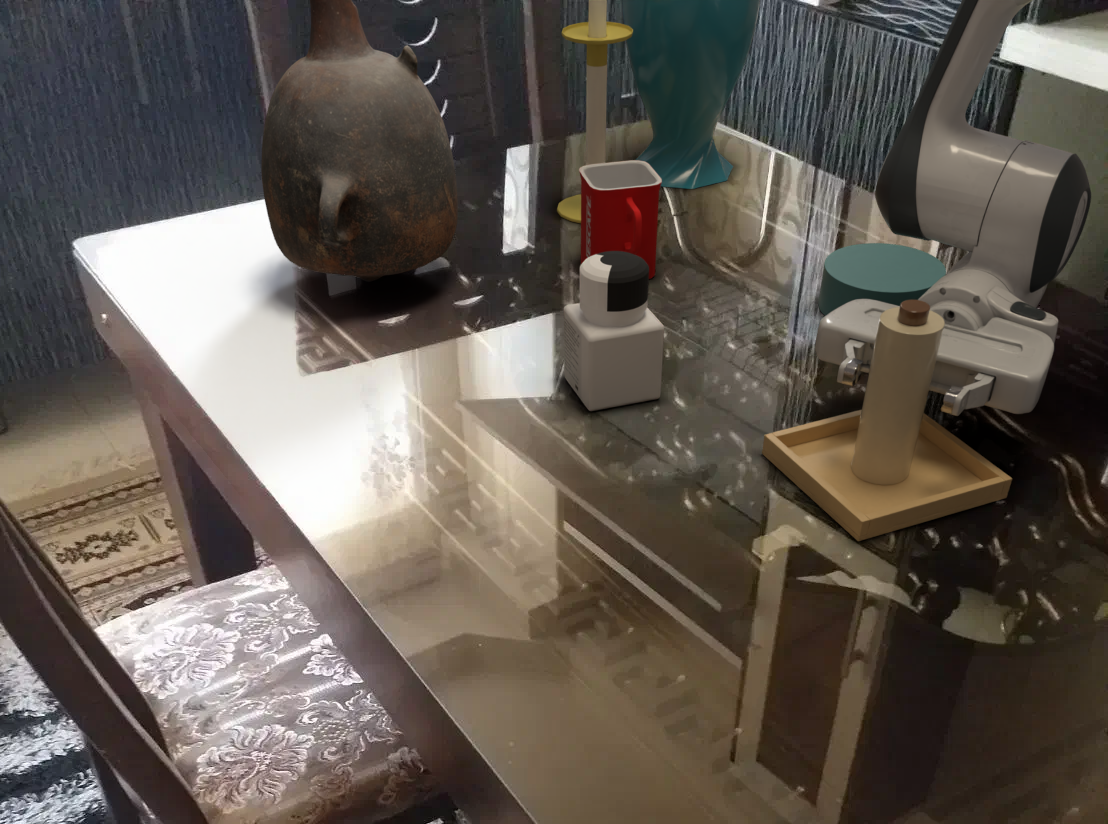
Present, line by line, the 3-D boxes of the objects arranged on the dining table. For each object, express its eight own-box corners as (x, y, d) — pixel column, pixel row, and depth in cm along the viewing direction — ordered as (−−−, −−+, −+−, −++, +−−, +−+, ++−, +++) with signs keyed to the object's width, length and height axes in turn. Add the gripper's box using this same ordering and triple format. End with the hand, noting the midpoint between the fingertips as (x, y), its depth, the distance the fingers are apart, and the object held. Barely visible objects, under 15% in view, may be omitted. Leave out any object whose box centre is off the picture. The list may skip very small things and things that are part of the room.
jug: (490, 306, 130) (473, -2, 109) (303, 339, 125) (248, 22, 104) (430, 228, 146) (406, -54, 125) (263, 254, 142) (208, -34, 120)
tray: (900, 417, 111) (904, 398, 110) (1006, 498, 101) (1012, 478, 100) (761, 453, 107) (764, 434, 106) (858, 541, 97) (862, 521, 96)
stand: (890, 274, 134) (898, 235, 131) (961, 318, 126) (971, 278, 123) (795, 295, 131) (801, 255, 128) (861, 342, 122) (869, 301, 119)
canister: (886, 449, 106) (922, 287, 96) (921, 477, 103) (961, 312, 92) (839, 462, 105) (869, 299, 94) (872, 490, 102) (908, 324, 91)
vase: (662, 201, 152) (677, -75, 130) (595, 162, 162) (599, -98, 141) (768, 176, 157) (798, -92, 136) (696, 140, 168) (714, -113, 147)
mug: (575, 259, 139) (575, 165, 131) (641, 252, 140) (645, 159, 133) (600, 301, 131) (602, 204, 123) (670, 293, 132) (675, 196, 124)
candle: (648, 207, 150) (664, -154, 124) (600, 230, 145) (607, -141, 118) (589, 189, 155) (592, -162, 128) (541, 212, 150) (534, -150, 123)
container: (633, 365, 120) (637, 238, 110) (661, 399, 115) (669, 269, 105) (563, 377, 118) (562, 250, 109) (588, 413, 113) (589, 282, 104)
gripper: (856, 269, 107) (790, 325, 99) (1077, 321, 99) (1024, 387, 91) (845, 334, 112) (781, 392, 104) (1056, 389, 103) (1003, 457, 96)
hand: (896, 391), depth 97 cm, fingers open, 8 cm apart
